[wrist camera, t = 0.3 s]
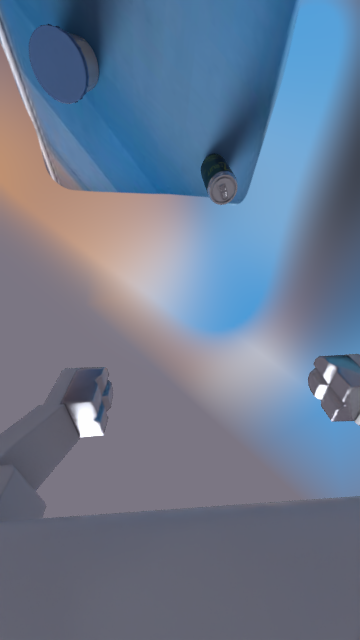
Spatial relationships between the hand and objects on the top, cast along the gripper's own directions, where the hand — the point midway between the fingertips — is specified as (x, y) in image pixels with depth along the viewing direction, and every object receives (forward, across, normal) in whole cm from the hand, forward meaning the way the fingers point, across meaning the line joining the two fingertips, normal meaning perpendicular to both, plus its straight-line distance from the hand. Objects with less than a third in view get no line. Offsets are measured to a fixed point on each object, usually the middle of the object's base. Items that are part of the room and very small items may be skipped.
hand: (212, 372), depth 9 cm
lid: (+36, +14, -19) cm, 43 cm away
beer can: (+50, -8, -9) cm, 52 cm away
